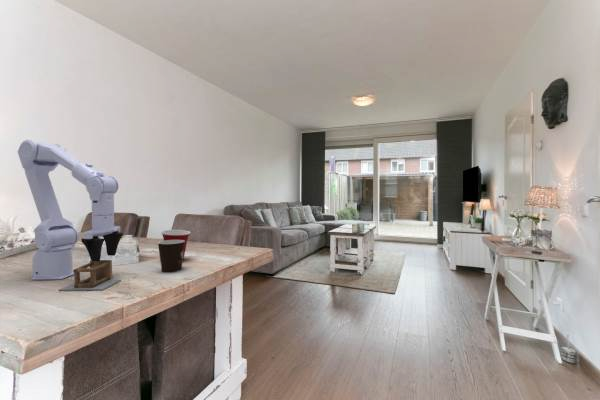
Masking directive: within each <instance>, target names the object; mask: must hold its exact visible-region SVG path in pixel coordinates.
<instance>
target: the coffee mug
mask: <svg viewBox="0 0 600 400" xmlns="http://www.w3.org/2000/svg"><path fill="white" fill-rule="evenodd" d="M184 243H185V241H184V240H166V241H164V240H161V241H158V242H157V244H158V245H157V246H158V247H157V248H158V253H159V259H160V267H161V272H163V273H176V272H180V271H181V270H182V269H183V267H182V266H183V261H184V259H183V252H184ZM182 260H183V261H182Z"/></svg>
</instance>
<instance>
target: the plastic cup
mask: <svg viewBox="0 0 600 400" xmlns="http://www.w3.org/2000/svg"><path fill="white" fill-rule="evenodd" d="M160 234H161V235H162V238H163V241H166V240H184V241H185V243H184V252H183V260H184V259H185V253H186V248H187V244H188V239H189V236H190V234H191V231H189V230H185V229H167V230H162V231H161V233H160Z"/></svg>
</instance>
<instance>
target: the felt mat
mask: <svg viewBox="0 0 600 400" xmlns="http://www.w3.org/2000/svg"><path fill="white" fill-rule="evenodd" d="M83 280H84V279H80V282H81V281H83ZM97 281H98V280H96V282H97ZM121 281H122V280H121V279H111V280H106V281H104V282H102V283H100V284H98V285H96V286H95V287H93V288H91V287H77V288H75V287H74V285H75V282H73V283H70V284H68V285H66V286H63V287H61V288H59V289H58V291H57V292H84V291H85V292H90V291H92V292H93V291H97V292H98V291H101V292H102V291H105V290H106V289H109V288H111V287H112V286H114V285H117V283H120V282H121ZM87 283H91V281H89V282H87Z"/></svg>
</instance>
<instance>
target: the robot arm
mask: <svg viewBox="0 0 600 400" xmlns="http://www.w3.org/2000/svg"><path fill="white" fill-rule="evenodd" d="M17 154H18V159H19V161H20V164H21V168H22V169H24V174H25V177H26V179H27V182H28V183H27V184H28V186H29V189H30V192H31V195H32V197H33V201H34V203H35V206H36V209H37V213H38V215H39V218H40V223H39V224H38V225H37V226H36V227H35V228H34V229H33V233H34V244H35V246H36V247H37V249H39V250H37V251H36V252H35V253H34V254H33V255H32V277H31V278H30V280H38V281H39V280H63V279H66V278H68V277H71V276H74V272H73V270H74V269H73V268H74V267H73V248H75V245H76V244H77V242H79V239H80V237H79V232H78V230H77V229H76V228H75V227H74V224H73V222H72V221H70V220H68V219H66V218H64V217H63V214H62V211H61V208H60V205H59V201H58V200H57V199H58V198H57V196H56V193H55V191H54V186H53V185H52V184H53V183H52V182H51V179H50V176H49V173H51V172H54V171H55V169H56V168H57V167H58V166H59V165H61V166H62V167H64V168H65V169H67V170H69V171H70V172H71V177H73V178H74V179H75V180H77V182H79V183H81V184H83V185H84V186H85V189H86V192H87V193H88V195H89V199H90V201H91V229H89V230H87V231H84V232H83V233H82V234H83V237H81V243H82V244H83V246H85V248H86V250H87V253H88V255H89V259H90V261H100V260H101V257H102V248H103V243H104V242H105V248H106V249H105V250H106V255H107V256H111V257H112V256H116V253H117V250H118V247H119V243H120V240H121V239H122V237H123V236H124V233H123V232H121V226H120V225H115V194H116V193H117V192H118V190H119V183H118V181H117V180H116V179H115V177H113V176H106V175H105V174H104V172H102V171H99V170H98V169H96V168H95V167H93V166H94V165H93V164H92V163H88V162H86V163H85V162H80V161H78V160H77V159H76V158H75V157H73V155H71V154H70V153H68V151H67V148H65V147H62V146H61V145H59V144H58V143H57V144H56V143H55V144H54V143H48V142H41V141H36V140H35V141H34V140H32V139H26V140H23V141H22V142H21V143H20V145H19V147H18V150H17ZM101 236H102V238H100V237H101Z"/></svg>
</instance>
